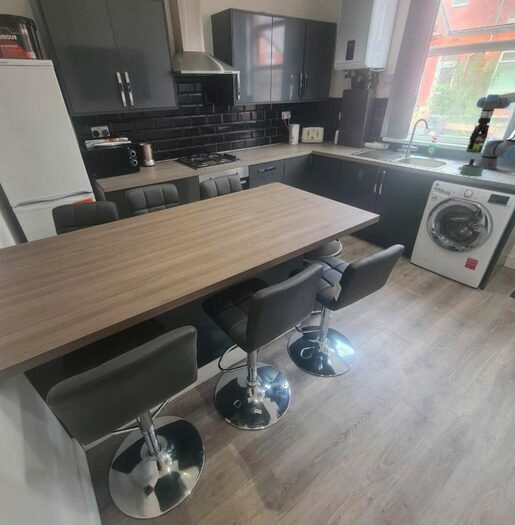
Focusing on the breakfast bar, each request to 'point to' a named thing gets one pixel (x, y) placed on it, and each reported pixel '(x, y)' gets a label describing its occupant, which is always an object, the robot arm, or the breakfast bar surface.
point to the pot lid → (469, 163)
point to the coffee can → (477, 144)
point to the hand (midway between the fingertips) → (474, 148)
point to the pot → (472, 170)
